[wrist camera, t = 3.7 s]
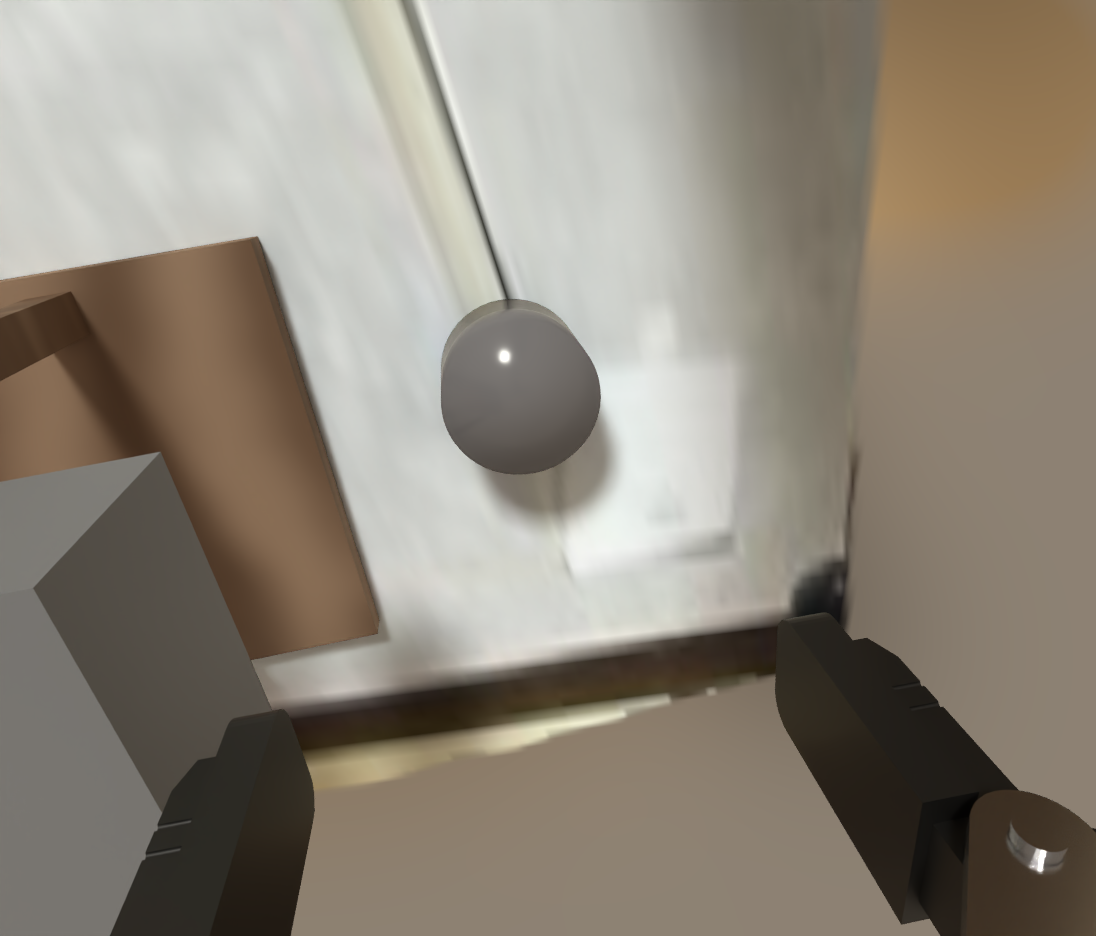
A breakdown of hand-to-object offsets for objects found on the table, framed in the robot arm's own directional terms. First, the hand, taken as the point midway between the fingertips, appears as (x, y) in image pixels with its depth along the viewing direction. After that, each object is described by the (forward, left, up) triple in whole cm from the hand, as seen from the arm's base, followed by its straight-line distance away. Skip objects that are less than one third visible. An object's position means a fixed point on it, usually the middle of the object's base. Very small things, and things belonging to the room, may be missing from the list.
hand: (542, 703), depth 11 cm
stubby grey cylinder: (-1, 0, -18) cm, 18 cm away
